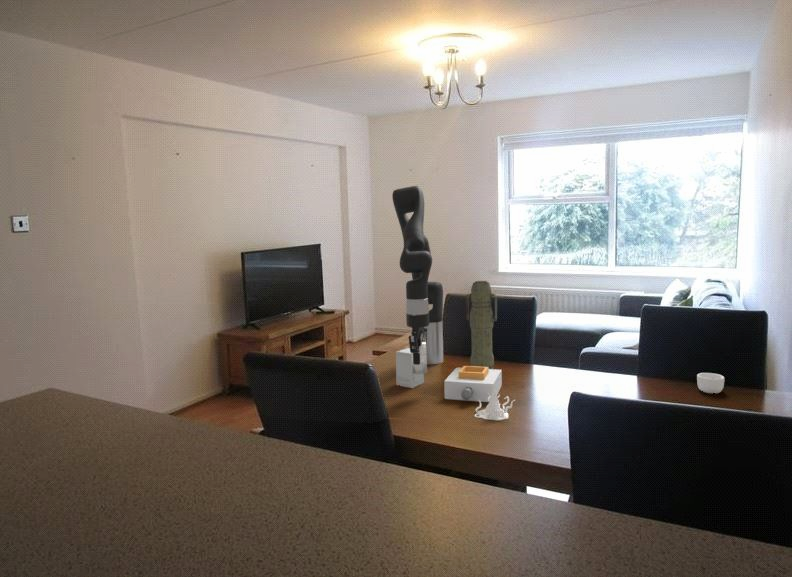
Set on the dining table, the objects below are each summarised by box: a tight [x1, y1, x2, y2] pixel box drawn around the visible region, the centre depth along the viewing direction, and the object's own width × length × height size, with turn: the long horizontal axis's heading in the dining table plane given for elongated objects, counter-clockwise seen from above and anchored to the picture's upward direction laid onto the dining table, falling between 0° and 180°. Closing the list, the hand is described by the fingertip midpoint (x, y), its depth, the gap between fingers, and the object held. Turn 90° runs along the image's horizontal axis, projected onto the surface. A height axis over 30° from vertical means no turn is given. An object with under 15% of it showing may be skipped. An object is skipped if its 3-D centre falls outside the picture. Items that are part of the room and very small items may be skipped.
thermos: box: [464, 280, 498, 369], centre depth 211 cm, size 9×12×35 cm
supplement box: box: [395, 347, 425, 389], centre depth 198 cm, size 7×7×13 cm
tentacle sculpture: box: [474, 387, 516, 421], centre depth 164 cm, size 9×12×9 cm
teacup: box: [696, 372, 725, 394], centre depth 180 cm, size 10×8×5 cm
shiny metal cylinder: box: [411, 342, 428, 374], centre depth 184 cm, size 5×5×10 cm
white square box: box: [443, 365, 503, 403], centre depth 185 cm, size 22×16×8 cm
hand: (419, 361), depth 184 cm, fingers closed on shiny metal cylinder, 5 cm apart
